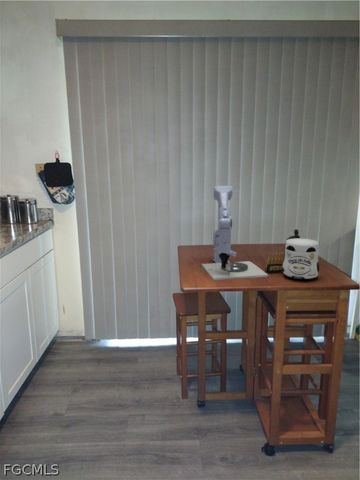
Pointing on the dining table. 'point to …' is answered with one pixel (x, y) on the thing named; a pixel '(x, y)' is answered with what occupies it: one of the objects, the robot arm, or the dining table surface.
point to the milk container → (301, 259)
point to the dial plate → (220, 274)
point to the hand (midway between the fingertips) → (224, 267)
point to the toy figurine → (294, 235)
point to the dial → (235, 267)
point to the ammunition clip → (274, 263)
